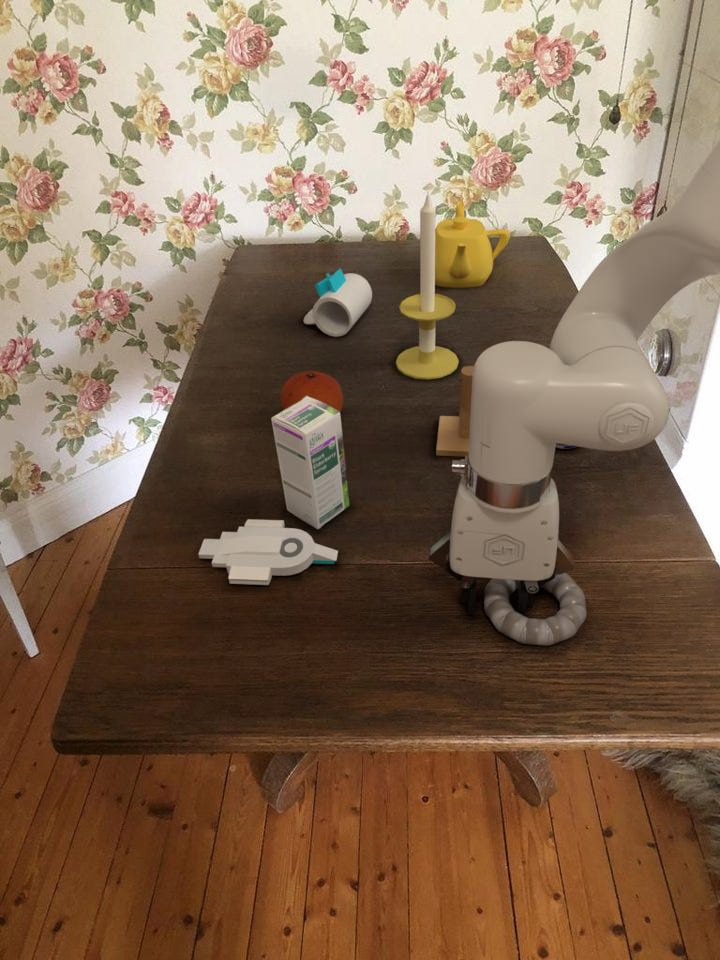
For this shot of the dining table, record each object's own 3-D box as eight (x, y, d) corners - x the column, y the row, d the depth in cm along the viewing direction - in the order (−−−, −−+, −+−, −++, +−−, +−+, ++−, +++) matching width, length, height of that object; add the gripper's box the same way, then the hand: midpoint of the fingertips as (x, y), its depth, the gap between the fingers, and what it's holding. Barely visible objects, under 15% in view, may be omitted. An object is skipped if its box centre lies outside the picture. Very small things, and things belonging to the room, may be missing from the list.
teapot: (511, 300, 135) (516, 241, 128) (424, 300, 136) (424, 242, 130) (503, 250, 152) (507, 196, 145) (426, 251, 153) (426, 198, 146)
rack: (496, 423, 106) (501, 355, 99) (496, 458, 100) (502, 388, 93) (439, 421, 107) (441, 353, 100) (436, 455, 101) (437, 386, 94)
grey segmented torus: (579, 578, 83) (583, 561, 81) (588, 654, 75) (591, 638, 73) (484, 571, 84) (485, 555, 83) (482, 645, 77) (484, 629, 75)
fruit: (354, 428, 107) (351, 380, 102) (295, 444, 105) (289, 396, 100) (332, 397, 113) (328, 350, 108) (276, 412, 111) (269, 365, 106)
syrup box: (318, 531, 91) (306, 434, 82) (284, 510, 94) (269, 415, 85) (350, 506, 94) (342, 410, 85) (317, 487, 97) (306, 393, 88)
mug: (362, 252, 130) (335, 281, 121) (383, 299, 134) (358, 331, 125) (308, 271, 136) (278, 300, 128) (330, 315, 140) (303, 346, 132)
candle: (409, 342, 125) (407, 176, 108) (467, 353, 121) (474, 182, 104) (385, 372, 118) (379, 199, 101) (445, 384, 115) (450, 207, 97)
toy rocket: (191, 585, 85) (187, 571, 84) (214, 526, 92) (210, 513, 91) (331, 592, 83) (330, 578, 82) (342, 531, 91) (341, 517, 89)
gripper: (412, 496, 67) (413, 628, 79) (609, 506, 65) (580, 641, 76) (419, 445, 73) (419, 575, 84) (600, 453, 70) (575, 586, 82)
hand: (496, 605), depth 80 cm, fingers open, 4 cm apart
